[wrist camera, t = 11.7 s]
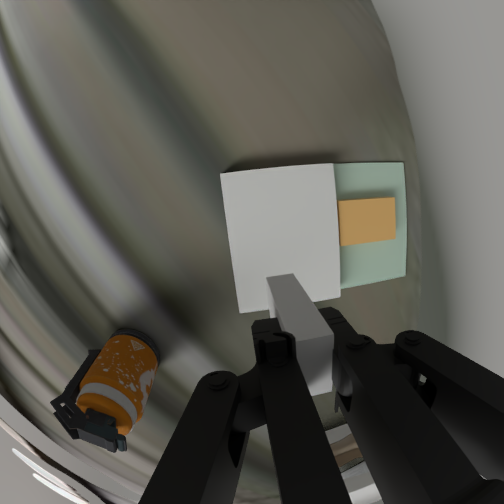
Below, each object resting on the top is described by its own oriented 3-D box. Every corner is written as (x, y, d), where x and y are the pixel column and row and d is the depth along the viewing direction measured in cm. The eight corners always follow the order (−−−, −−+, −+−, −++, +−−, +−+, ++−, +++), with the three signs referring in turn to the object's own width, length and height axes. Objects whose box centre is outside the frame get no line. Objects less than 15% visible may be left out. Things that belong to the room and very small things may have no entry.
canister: (158, 377, 41) (131, 472, 22) (99, 360, 40) (51, 441, 21) (163, 335, 40) (128, 434, 20) (98, 316, 38) (35, 395, 19)
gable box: (288, 469, 51) (309, 560, 24) (276, 444, 48) (299, 555, 21) (373, 440, 52) (415, 521, 24) (374, 411, 48) (429, 505, 21)
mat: (331, 164, 35) (332, 164, 35) (401, 162, 36) (403, 162, 36) (339, 288, 40) (340, 289, 40) (404, 274, 40) (405, 275, 40)
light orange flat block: (335, 243, 38) (340, 246, 36) (332, 200, 36) (338, 201, 34) (388, 236, 38) (395, 238, 36) (387, 196, 37) (394, 197, 35)
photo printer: (342, 477, 56) (354, 508, 44) (336, 474, 55) (348, 506, 43) (373, 460, 55) (388, 491, 43) (369, 456, 54) (384, 488, 42)
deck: (220, 174, 35) (220, 173, 32) (325, 164, 35) (332, 163, 32) (238, 304, 39) (239, 313, 36) (333, 289, 40) (340, 296, 37)
